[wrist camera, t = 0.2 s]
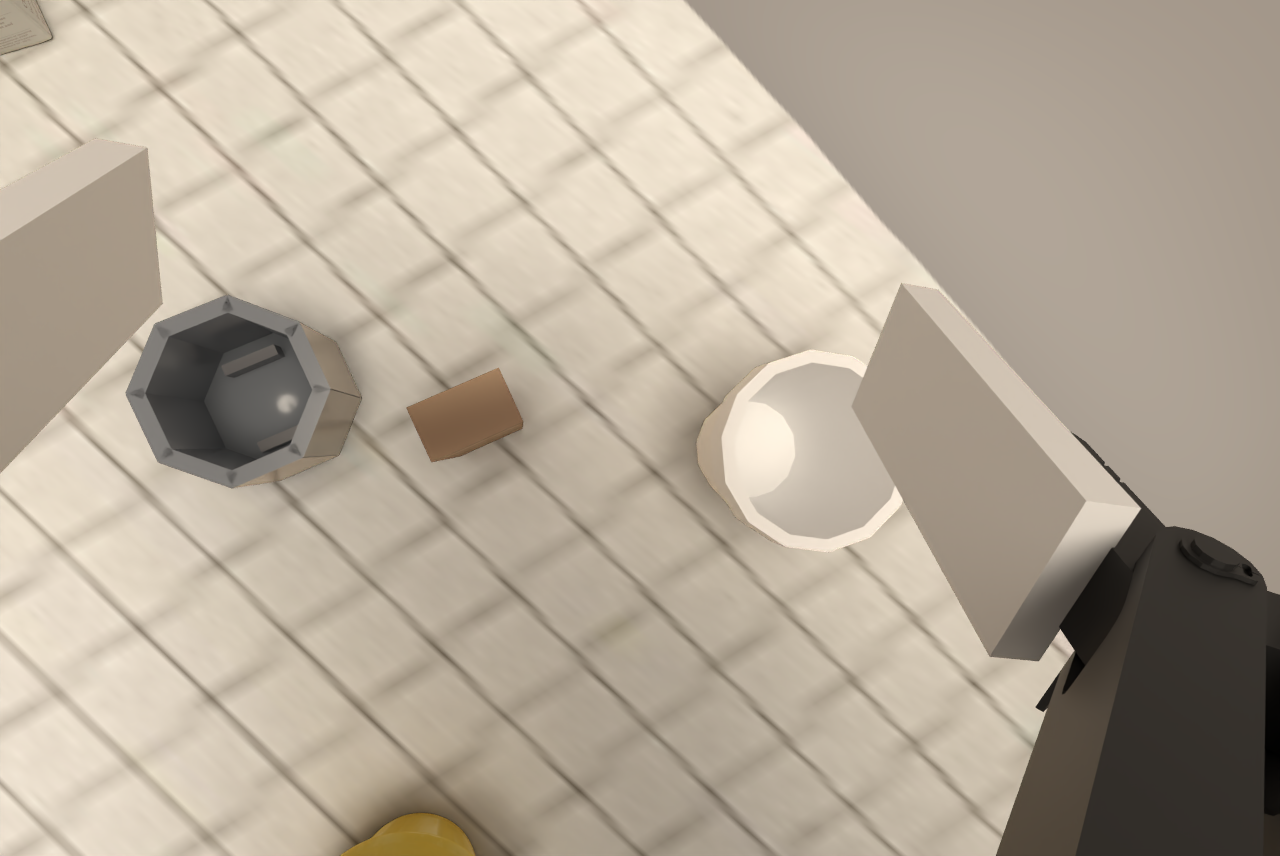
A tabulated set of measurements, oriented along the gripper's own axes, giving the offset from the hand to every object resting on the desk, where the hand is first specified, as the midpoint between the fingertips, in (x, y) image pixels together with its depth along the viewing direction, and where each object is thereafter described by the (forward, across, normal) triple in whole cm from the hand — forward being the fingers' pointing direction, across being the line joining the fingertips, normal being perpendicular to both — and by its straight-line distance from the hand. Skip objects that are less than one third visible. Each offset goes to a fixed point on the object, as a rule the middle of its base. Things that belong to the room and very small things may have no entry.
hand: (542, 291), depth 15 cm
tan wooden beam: (+28, +1, +21) cm, 35 cm away
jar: (+29, +13, +22) cm, 38 cm away
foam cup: (+28, -15, +21) cm, 38 cm away
